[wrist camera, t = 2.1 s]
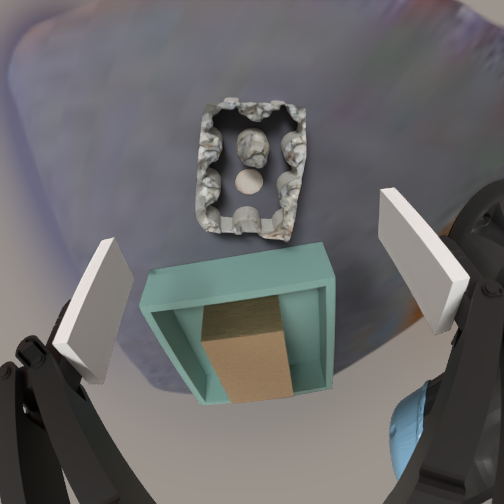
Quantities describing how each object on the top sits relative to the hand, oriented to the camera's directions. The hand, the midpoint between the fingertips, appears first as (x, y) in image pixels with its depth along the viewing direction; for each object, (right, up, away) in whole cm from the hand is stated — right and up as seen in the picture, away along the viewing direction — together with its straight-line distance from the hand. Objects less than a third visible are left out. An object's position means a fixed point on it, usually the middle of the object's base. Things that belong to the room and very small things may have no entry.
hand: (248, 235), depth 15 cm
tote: (0, -9, +20) cm, 21 cm away
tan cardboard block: (0, -9, +19) cm, 21 cm away
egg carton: (0, +6, +10) cm, 12 cm away
